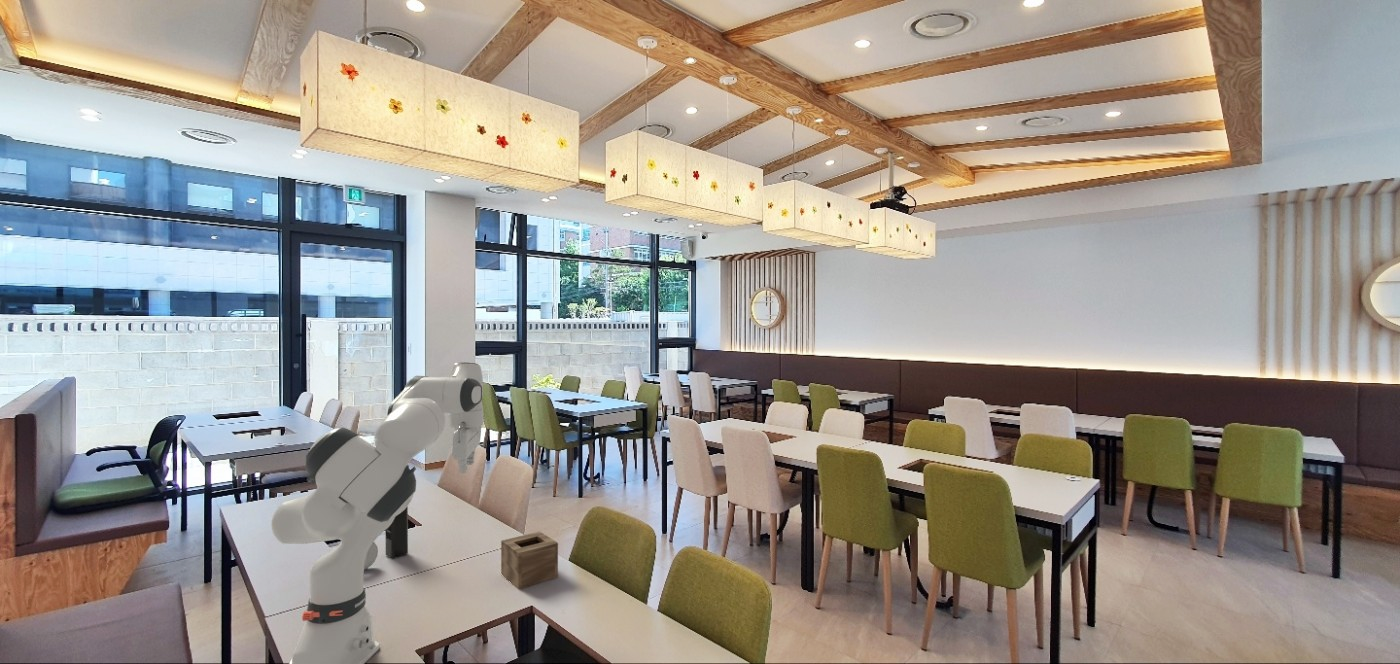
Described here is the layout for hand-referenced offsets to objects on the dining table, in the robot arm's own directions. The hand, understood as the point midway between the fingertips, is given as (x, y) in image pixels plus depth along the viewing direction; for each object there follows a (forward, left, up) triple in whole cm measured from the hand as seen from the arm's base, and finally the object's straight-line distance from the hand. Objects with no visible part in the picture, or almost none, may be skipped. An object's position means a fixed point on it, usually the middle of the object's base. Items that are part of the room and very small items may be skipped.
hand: (466, 468), depth 170 cm
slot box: (+17, -15, -39) cm, 45 cm away
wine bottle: (+42, +31, -39) cm, 65 cm away
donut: (+30, +38, -39) cm, 62 cm away
